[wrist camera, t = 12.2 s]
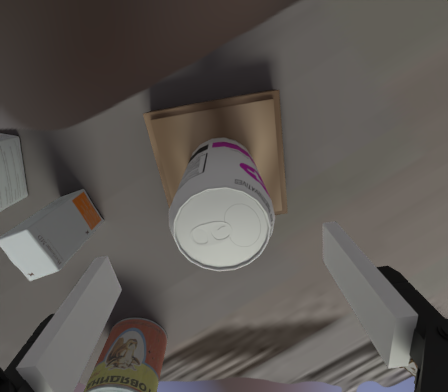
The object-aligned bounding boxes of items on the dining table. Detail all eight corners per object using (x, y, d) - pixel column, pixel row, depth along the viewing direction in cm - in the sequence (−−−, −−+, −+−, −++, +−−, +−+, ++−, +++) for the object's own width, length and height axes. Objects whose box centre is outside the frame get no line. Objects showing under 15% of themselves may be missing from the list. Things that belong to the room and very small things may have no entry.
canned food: (166, 318, 48) (150, 387, 37) (168, 357, 52) (154, 429, 41) (106, 316, 47) (71, 385, 36) (113, 355, 52) (84, 428, 41)
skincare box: (105, 220, 39) (60, 272, 28) (82, 228, 40) (28, 283, 29) (84, 186, 37) (25, 228, 26) (59, 195, 37) (-9, 241, 26)
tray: (179, 217, 39) (174, 231, 35) (150, 111, 33) (141, 114, 29) (281, 202, 38) (288, 214, 35) (273, 89, 32) (279, 90, 28)
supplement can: (244, 128, 30) (265, 164, 16) (259, 190, 33) (287, 264, 19) (179, 146, 31) (146, 196, 17) (200, 205, 34) (187, 287, 20)
